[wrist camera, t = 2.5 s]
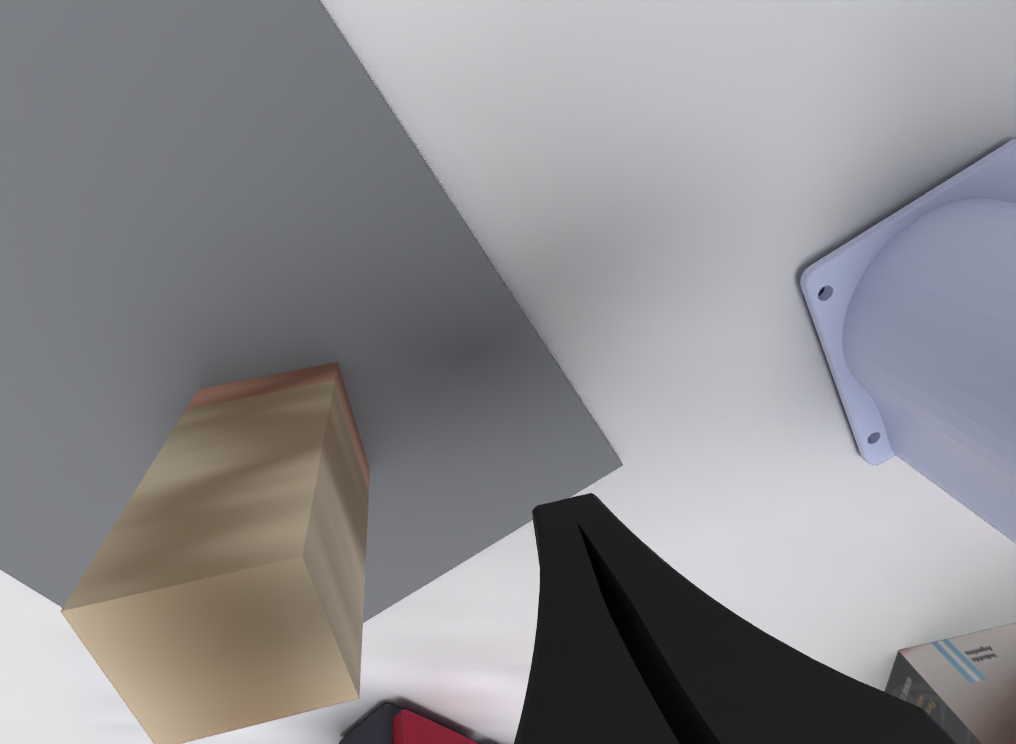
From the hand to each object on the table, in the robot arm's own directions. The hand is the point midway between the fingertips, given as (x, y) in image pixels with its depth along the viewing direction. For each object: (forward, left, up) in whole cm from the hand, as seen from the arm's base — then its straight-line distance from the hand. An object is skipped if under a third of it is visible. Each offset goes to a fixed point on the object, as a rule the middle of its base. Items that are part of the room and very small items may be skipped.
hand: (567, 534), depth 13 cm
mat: (+5, +7, -7) cm, 11 cm away
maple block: (+3, +6, -7) cm, 10 cm away
